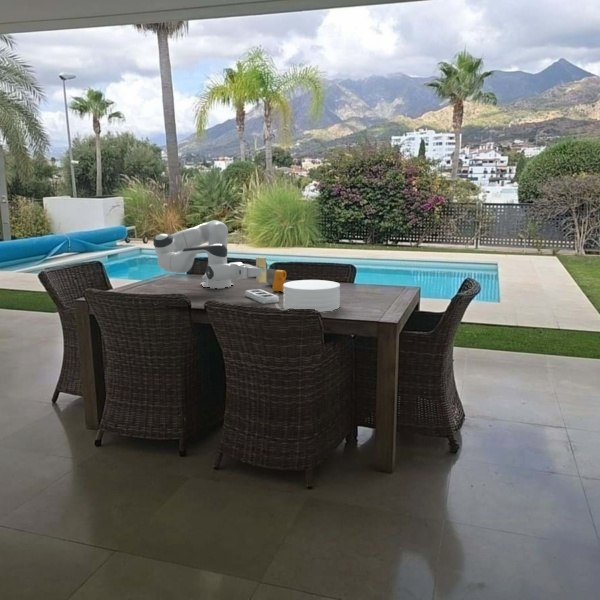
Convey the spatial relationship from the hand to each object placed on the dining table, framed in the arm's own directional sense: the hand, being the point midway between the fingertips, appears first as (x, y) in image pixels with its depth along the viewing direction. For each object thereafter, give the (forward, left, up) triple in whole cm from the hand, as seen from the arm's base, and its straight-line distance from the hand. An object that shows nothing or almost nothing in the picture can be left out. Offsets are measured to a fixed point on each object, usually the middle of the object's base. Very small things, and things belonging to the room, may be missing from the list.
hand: (262, 268), depth 306 cm
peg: (0, -1, -7) cm, 7 cm away
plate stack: (+30, +13, -17) cm, 37 cm away
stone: (-34, +23, -16) cm, 44 cm away
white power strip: (0, -1, -16) cm, 16 cm away
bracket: (-16, +19, -16) cm, 30 cm away
